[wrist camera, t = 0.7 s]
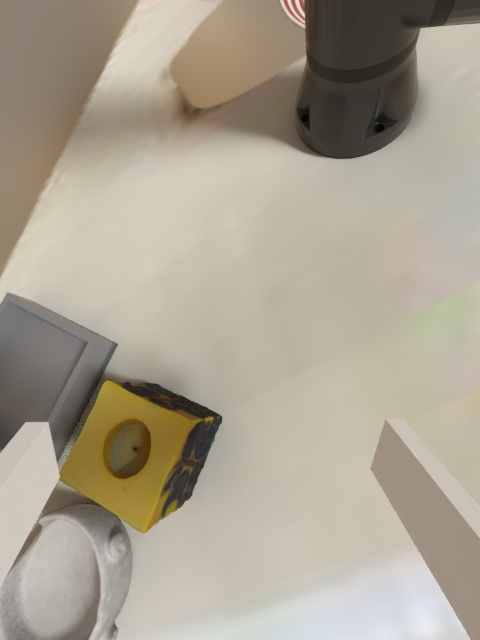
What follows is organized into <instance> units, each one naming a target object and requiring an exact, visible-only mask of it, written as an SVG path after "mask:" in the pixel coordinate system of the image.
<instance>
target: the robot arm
mask: <svg viewBox="0 0 480 640" xmlns="http://www.w3.org/2000/svg"><path fill="white" fill-rule="evenodd" d="M304 5H305V31H306V54H307V60H306V64H305V68H304V72H303V76H302V80H301V84H300V88H299V92H298V96H297V100H296V107H295V114H296V126H297V131H298V134H299V136H300V138H301V139H302V141H303V142H304V143H305V144H306V145H307V146H308V147H309V148H311V149H312V150H314V151H316V152H318V153H320V154H323V155H326V156H330V157H337V158H350V157H358V156H362V155H366V154H369V153H372V152H375V151H377V150H379V149H381V148H383V147H385V146H386V145H388V144H389V143H391V142H392V141H393V140H394V139H396V138H397V137H398V136H399V135H400V134H401V133H402V131H403V130H404V129H405V128H406V126H407V124H408V123H409V121H410V118H411V115H412V112H413V109H414V106H415V103H416V99H417V93H418V79H417V57H416V43H417V39H418V36H419V32H420V28H426V27H435V26H448V25H461V24H474V23H480V0H304ZM370 469H371V470H372V472H373V474H374V475H375V477H376V479H377V481H378V482H379V484H380V486H381V487H382V489H383V491H384V492H385V494H386V496H387V498H388V499H389V501H390V503H391V504H392V506H393V508H394V509H395V511H396V513H397V515H398V516H399V518H400V520H401V521H402V523H403V525H404V526H405V528H406V530H407V532H408V533H409V535H410V537H411V538H412V540H413V542H414V543H415V545H416V547H417V549H418V550H419V552H420V554H421V555H422V557H423V559H424V560H425V562H426V564H427V566H428V567H429V569H430V571H431V572H432V574H433V576H434V577H435V579H436V581H437V583H438V584H439V586H440V588H441V589H442V591H443V593H444V594H445V596H446V598H447V600H448V601H449V603H450V605H451V606H452V608H453V610H454V611H455V613H456V615H457V617H458V618H459V620H460V622H461V623H462V625H463V627H464V628H465V630H466V632H467V634H468V635H469V637H470V639H471V640H480V507H479V506H478V505H477V504H476V503H475V501H474V500H473V499H472V498H471V497H470V496H469V494H468V493H467V492H466V491H465V490H464V489H463V488H462V486H461V485H460V484H459V483H458V482H457V481H456V479H455V478H454V477H453V476H452V475H451V474H450V473H449V471H448V470H447V469H446V468H445V467H444V466H443V465H442V463H441V462H440V461H439V460H438V459H437V458H436V456H435V455H434V454H433V453H432V452H431V451H430V450H429V448H428V447H427V446H426V445H425V444H424V443H423V441H422V440H421V439H420V438H419V437H418V436H417V435H416V433H415V432H414V431H413V430H412V429H411V428H410V426H409V425H408V424H407V423H406V422H405V421H404V420H403V419H386V420H385V423H384V427H383V430H382V433H381V436H380V439H379V443H378V446H377V449H376V452H375V456H374V459H373V462H372V465H371V468H370ZM59 478H60V474H59V469H58V465H57V460H56V456H55V451H54V446H53V442H52V437H51V432H50V428H49V423H48V422H25V424H24V425H23V426H22V427H21V429H20V430H19V431H18V432H17V433H16V435H15V436H14V437H13V438H12V439H11V441H10V442H9V443H8V444H7V445H6V447H5V448H4V449H3V450H2V452H1V453H0V587H1V585H2V583H3V581H4V580H5V578H6V576H7V574H8V572H9V570H10V569H11V567H12V565H13V563H14V561H15V559H16V557H17V556H18V554H19V552H20V550H21V548H22V546H23V545H24V543H25V541H26V539H27V537H28V535H29V533H30V532H31V530H32V528H33V526H34V524H35V522H36V521H37V519H38V517H39V515H40V513H41V511H42V509H43V508H44V506H45V504H46V502H47V500H48V498H49V497H50V495H51V493H52V491H53V489H54V487H55V485H56V484H57V482H58V480H59Z"/></svg>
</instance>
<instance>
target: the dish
mask: <svg viewBox="0 0 480 640" xmlns="http://www.w3.org/2000/svg"><path fill="white" fill-rule="evenodd" d="M38 522H39V524H40V525H42V528H41V530H40V532H39V533H38V534H37V536H36V537H35V539H34V540H33V541H32V543H31V544H30V545H29V547H28V548H27V549H26V551H25V552H24V553H23V554H22V555H21V556H20V558H19V559H18V560H17V562H16V563H15V564H14V565H13V566H12V567H11V569H10V570H9V572H8V574H7V576H6V578H5V580H4V581H3V583H2V585H1V587H0V640H116V638H117V633H118V628H117V627H116V625H115V623H114V621H115V619H116V618H117V616H118V615H119V613H120V611H121V609H122V606H123V604H124V601H125V599H126V596H127V592H128V589H129V584H130V580H131V572H132V551H131V545H130V540H129V537H128V534H127V532H126V530H125V528H124V526H123V525H122V523H121V522H120V520H119V519H118V518H117V517H116V516H115V515H114V514H112V513H111V512H110V511H108V510H106V509H105V508H103V507H100V506H97V505H92V504H79V505H73V506H68V507H64V508H61V509H58V510H55V511H53V512H50V513H48V514H46V515H44V516H42V517H41V518H40V519H39V521H38Z"/></svg>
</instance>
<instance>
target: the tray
mask: <svg viewBox="0 0 480 640" xmlns="http://www.w3.org/2000/svg"><path fill="white" fill-rule="evenodd" d="M117 345H118V344H117V343H115V342H113V341H111V340H109V339H107V338H105V337H103V336H101V335H99V334H97V333H95V332H93V331H91V330H89V329H87V328H85V327H83V326H81V325H79V324H77V323H75V322H73V321H71V320H69V319H67V318H65V317H63V316H61V315H59V314H57V313H55V312H53V311H51V310H49V309H47V308H45V307H43V306H41V305H39V304H37V303H35V302H33V301H31V300H28V299H25V298H22V297H20V296H17V295H14V294H11V293H8V292H7V294H6V296H5V298H4V299H3V301H2V303H1V304H0V453H1V452H2V450H3V449H4V448H5V447H6V445H7V444H8V443H9V442H10V441H11V439H12V438H13V437H14V436H15V435H16V433H17V432H18V431H19V430H20V429H21V427H22V426H23V425H24V424H25V422H48V423H49V428H50V432H51V437H52V442H53V446H54V451H55V456H56V460H57V462H58V460H59V458H60V456H61V454H62V452H63V450H64V448H65V446H66V444H67V442H68V440H69V439H70V437H71V435H72V433H73V431H74V429H75V427H76V425H77V423H78V421H79V419H80V417H81V415H82V413H83V411H84V409H85V407H86V405H87V403H88V401H89V400H90V398H91V396H92V394H93V392H94V390H95V388H96V386H97V384H98V382H99V380H100V378H101V376H102V374H103V372H104V370H105V368H106V366H107V364H108V363H109V361H110V359H111V357H112V355H113V353H114V351H115V349H116V347H117Z"/></svg>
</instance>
